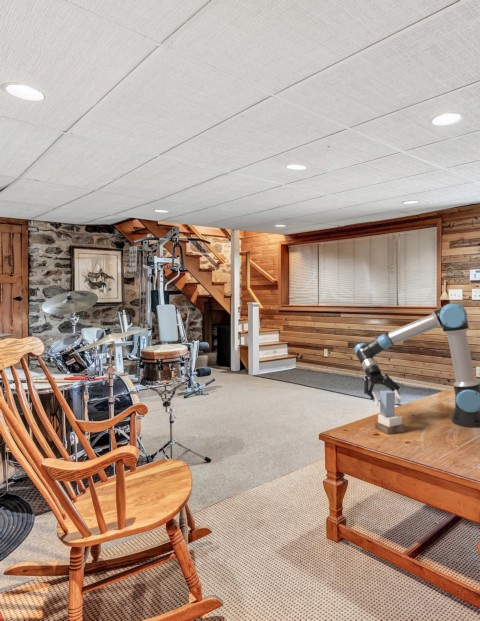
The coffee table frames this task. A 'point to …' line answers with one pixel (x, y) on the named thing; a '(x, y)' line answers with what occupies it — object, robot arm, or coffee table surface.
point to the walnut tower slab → (389, 428)
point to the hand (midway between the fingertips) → (389, 403)
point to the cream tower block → (390, 420)
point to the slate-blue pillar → (387, 403)
